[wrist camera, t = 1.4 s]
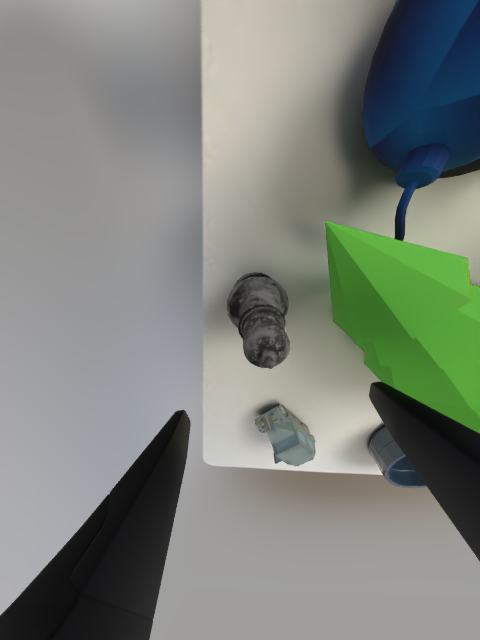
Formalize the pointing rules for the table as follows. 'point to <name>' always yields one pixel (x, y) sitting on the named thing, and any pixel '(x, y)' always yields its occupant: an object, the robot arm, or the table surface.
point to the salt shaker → (260, 318)
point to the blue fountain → (393, 461)
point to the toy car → (287, 436)
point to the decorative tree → (410, 317)
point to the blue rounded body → (425, 95)
